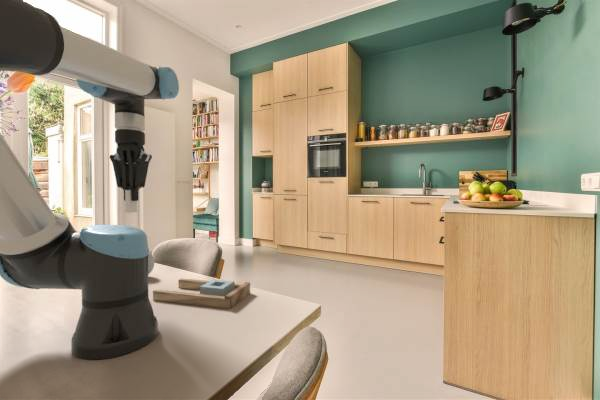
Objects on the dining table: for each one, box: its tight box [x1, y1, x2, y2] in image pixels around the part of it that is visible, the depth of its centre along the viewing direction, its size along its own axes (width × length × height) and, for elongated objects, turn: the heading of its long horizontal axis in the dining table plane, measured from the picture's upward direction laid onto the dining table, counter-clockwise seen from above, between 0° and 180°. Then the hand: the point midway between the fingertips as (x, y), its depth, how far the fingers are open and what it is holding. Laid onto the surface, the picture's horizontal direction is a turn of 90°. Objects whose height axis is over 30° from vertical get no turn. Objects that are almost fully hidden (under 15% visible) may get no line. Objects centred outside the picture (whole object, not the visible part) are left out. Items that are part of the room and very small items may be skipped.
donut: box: [148, 251, 155, 275], centre depth 106 cm, size 10×4×10 cm, turn 84°
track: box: [152, 278, 251, 310], centre depth 87 cm, size 12×24×3 cm, turn 75°
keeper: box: [199, 279, 235, 297], centre depth 86 cm, size 7×7×4 cm
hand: (131, 212), depth 87 cm, fingers closed
